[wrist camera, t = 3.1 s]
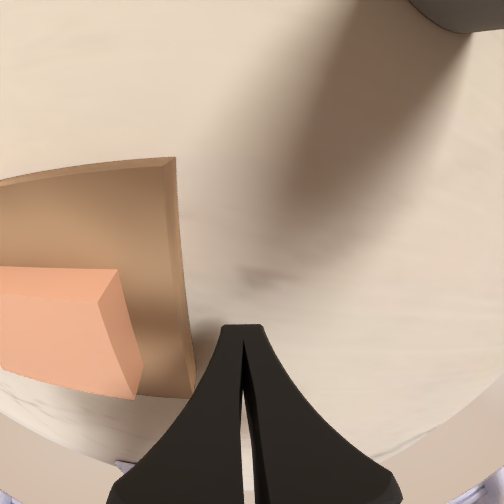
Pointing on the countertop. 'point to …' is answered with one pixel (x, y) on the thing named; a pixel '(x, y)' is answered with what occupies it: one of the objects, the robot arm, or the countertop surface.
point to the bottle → (464, 14)
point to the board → (112, 249)
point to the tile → (69, 329)
